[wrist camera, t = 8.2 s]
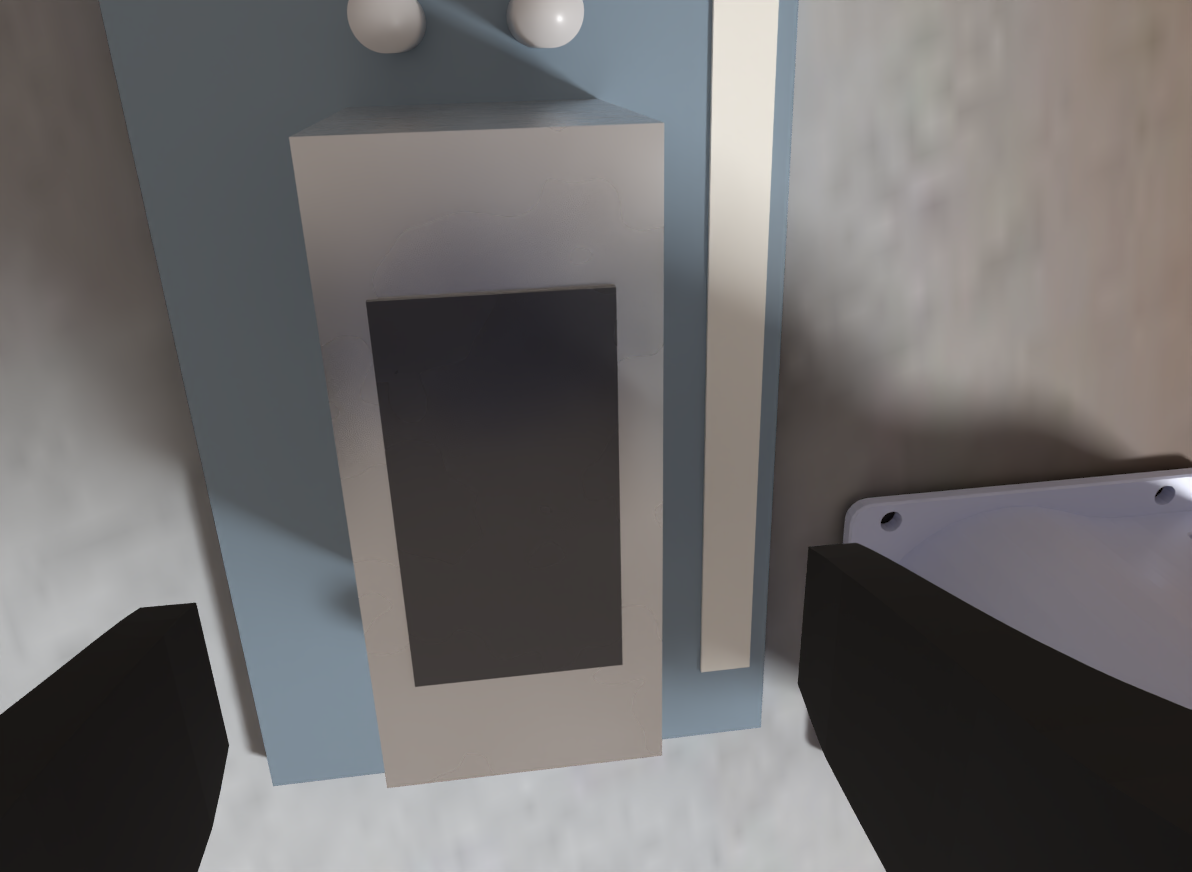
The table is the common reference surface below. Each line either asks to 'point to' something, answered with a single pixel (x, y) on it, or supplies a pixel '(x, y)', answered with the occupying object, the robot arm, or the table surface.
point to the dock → (290, 333)
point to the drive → (497, 422)
